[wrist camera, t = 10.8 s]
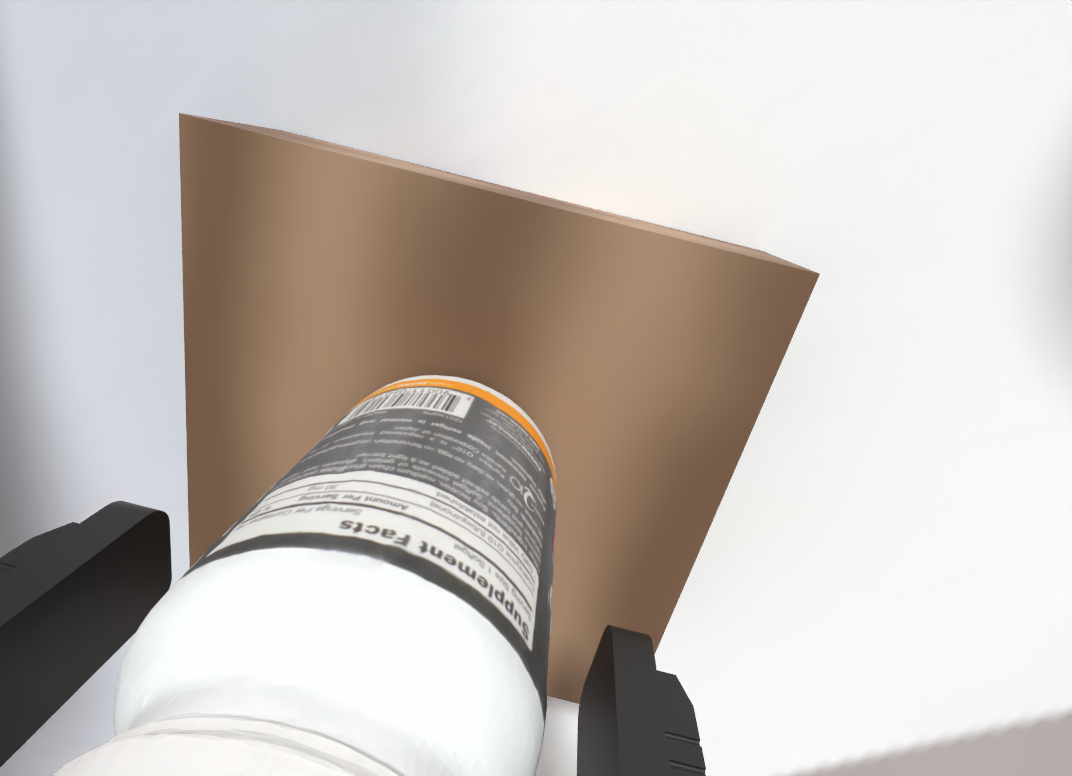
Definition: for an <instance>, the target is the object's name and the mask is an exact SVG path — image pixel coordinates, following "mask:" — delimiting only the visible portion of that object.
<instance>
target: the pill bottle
mask: <svg viewBox="0 0 1072 776" xmlns="http://www.w3.org/2000/svg"><path fill="white" fill-rule="evenodd" d="M556 502H557V488H556V474H555V467H554V463H553V459H552V455H551V452H550V449H549V447H548V445H547V443H546V441H545V439H544V437H543V435H542V433H541V432H540V430H539V429H538V427H537V426H536V425H535V423H534V422H533V421H532V420H531V418H530V417H529V416H528V415H527V414H526V413H525V412H524V411H523V410H522V409H521V408H520V407H519V406H518V405H516V404H515V403H514V402H513V401H511V400H510V399H509V398H507V397H506V396H504V395H502V394H501V393H499V392H497V391H495V390H493V389H491V388H489V387H487V386H485V385H483V384H480V383H478V382H475V381H472V380H468V379H464V378H459V377H452V376H440V375H425V376H417V377H411V378H406V379H402V380H399V381H396V382H393V383H391V384H388V385H386V386H384V387H382V388H380V389H378V390H377V391H375V392H374V393H372V394H370V395H369V396H367V397H366V398H364V399H363V400H362V401H361V402H359V403H358V404H357V405H356V406H354V407H353V408H352V409H351V410H350V411H349V412H348V413H347V414H346V415H344V416H343V417H342V418H341V419H340V420H339V421H338V422H337V423H336V424H335V425H334V426H333V427H332V428H331V429H330V430H329V432H328V433H327V434H326V435H325V436H324V437H323V438H322V439H321V440H320V441H319V442H318V443H317V444H316V445H315V446H314V447H313V448H312V449H311V450H310V451H309V452H308V453H307V454H306V455H305V456H304V457H303V458H302V459H301V460H300V461H299V462H298V463H297V464H296V465H295V466H294V467H293V468H292V469H290V470H289V471H288V472H287V473H286V474H285V475H284V476H283V477H282V478H281V479H279V480H278V481H277V482H276V483H275V484H274V485H273V487H272V488H271V489H270V490H269V491H267V492H266V493H265V494H264V495H263V496H262V497H261V498H260V499H259V500H258V501H257V502H256V503H255V504H254V505H253V506H252V507H251V508H250V509H249V510H248V511H247V512H246V513H245V514H244V515H242V516H241V517H240V518H239V519H238V520H237V522H235V523H234V524H233V525H232V526H231V527H230V529H229V530H228V531H227V532H226V533H225V534H224V535H223V536H222V537H221V538H220V539H218V540H217V541H216V542H215V543H214V544H213V545H212V546H211V547H210V548H209V549H207V551H206V552H205V553H204V554H203V555H202V556H201V558H200V559H199V560H198V561H197V562H196V563H195V564H194V565H193V566H192V567H191V568H190V569H189V570H188V571H187V572H186V573H185V574H184V575H183V576H182V577H181V578H180V579H179V580H178V581H177V582H176V583H175V584H174V585H173V586H172V587H171V588H170V589H169V590H168V592H167V593H166V594H165V595H164V596H163V597H162V598H161V599H160V600H159V602H158V603H157V604H156V605H155V606H154V607H153V608H152V609H151V611H150V612H149V614H148V615H147V616H146V618H145V619H144V620H143V622H142V623H141V625H140V627H139V628H138V630H137V632H136V633H135V635H134V637H133V639H132V641H131V643H130V645H129V647H128V649H127V651H126V654H125V657H124V659H123V662H122V665H121V668H120V671H119V676H118V681H117V685H116V692H115V701H114V723H115V733H116V736H115V737H113V738H112V739H110V740H109V741H107V742H106V743H104V744H102V745H101V746H99V747H96V748H94V749H92V750H90V751H89V752H87V753H85V754H83V755H81V756H78V757H77V758H75V759H73V760H71V761H70V762H68V763H66V764H65V765H64V766H63V767H61V768H60V769H59V770H58V771H57V772H56V773H55V774H53V775H52V776H535V774H536V770H537V766H538V762H539V758H540V754H541V749H542V744H543V736H544V728H545V718H546V708H547V677H548V653H549V640H550V632H551V605H552V588H553V572H554V540H555V522H556Z"/></svg>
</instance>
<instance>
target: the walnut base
mask: <svg viewBox="0 0 1072 776" xmlns="http://www.w3.org/2000/svg"><path fill="white" fill-rule="evenodd" d="M179 133H180V175H181V217H182V259H183V301H184V343H185V385H186V427H187V469H188V512H189V554H190V568H191V567H192V566H193V565H194V564H195V563H196V562H197V561H198V560H199V559H200V558H201V556H202V555H203V554H204V553H205V552H206V551H207V549H209V548H210V547H211V546H212V545H213V544H214V543H215V542H216V541H217V540H218V539H220V538H221V537H222V536H223V535H224V534H225V533H226V532H227V531H228V530H229V529H230V527H231V526H232V525H233V524H234V523H235V522H237V520H238V519H239V518H240V517H241V516H242V515H244V514H245V513H246V512H247V511H248V510H249V509H250V508H251V507H252V506H253V505H254V504H255V503H256V502H257V501H258V500H259V499H260V498H261V497H262V496H263V495H264V494H265V493H266V492H267V491H269V490H270V489H271V488H272V487H273V485H274V484H275V483H276V482H277V481H278V480H279V479H281V478H282V477H283V476H284V475H285V474H286V473H287V472H288V471H289V470H290V469H292V468H293V467H294V466H295V465H296V464H297V463H298V462H299V461H300V460H301V459H302V458H303V457H304V456H305V455H306V454H307V453H308V452H309V451H310V450H311V449H312V448H313V447H314V446H315V445H316V444H317V443H318V442H319V441H320V440H321V439H322V438H323V437H324V436H325V435H326V434H327V433H328V432H329V430H330V429H331V428H332V427H333V426H334V425H335V424H336V423H337V422H338V421H339V420H340V419H341V418H342V417H343V416H344V415H346V414H347V413H348V412H349V411H350V410H351V409H352V408H353V407H354V406H356V405H357V404H358V403H359V402H361V401H362V400H363V399H364V398H366V397H367V396H369V395H370V394H372V393H374V392H375V391H377V390H378V389H380V388H382V387H384V386H386V385H388V384H391V383H393V382H396V381H399V380H402V379H406V378H411V377H417V376H425V375H440V376H452V377H459V378H464V379H468V380H472V381H475V382H478V383H480V384H483V385H485V386H487V387H489V388H491V389H493V390H495V391H497V392H499V393H501V394H502V395H504V396H506V397H507V398H509V399H510V400H511V401H513V402H514V403H515V404H516V405H518V406H519V407H520V408H521V409H522V410H523V411H524V412H525V413H526V414H527V415H528V416H529V417H530V418H531V420H532V421H533V422H534V423H535V425H536V426H537V427H538V429H539V430H540V432H541V433H542V435H543V437H544V439H545V441H546V443H547V445H548V447H549V449H550V452H551V455H552V459H553V463H554V467H555V474H556V488H557V502H556V522H555V540H554V572H553V588H552V605H551V632H550V640H549V653H548V677H547V696H551V697H555V698H559V699H563V700H567V701H571V702H575V703H579V704H580V699H581V694H582V690H583V686H584V683H585V680H586V677H587V675H588V672H589V669H590V667H591V664H592V661H593V659H594V656H595V653H596V651H597V648H598V645H599V643H600V640H601V637H602V635H603V632H604V630H605V628H606V626H607V625H612V626H616V627H620V628H624V629H628V630H632V631H636V632H640V633H644V634H648V635H650V637H651V639H652V643H653V649H654V654H655V652H656V650H657V647H658V645H659V643H660V641H661V638H662V636H663V634H664V631H665V629H666V627H667V624H668V622H669V620H670V618H671V615H672V613H673V611H674V608H675V606H676V604H677V601H678V599H679V597H680V595H681V592H682V590H683V588H684V585H685V583H686V581H687V578H688V576H689V574H690V572H691V569H692V567H693V565H694V562H695V560H696V558H697V555H698V553H699V551H700V548H701V546H702V544H703V542H704V539H705V537H706V535H707V532H708V530H709V528H710V525H711V523H712V521H713V519H714V516H715V514H716V512H717V509H718V507H719V505H720V502H721V500H722V498H723V496H724V493H725V491H726V489H727V486H728V484H729V482H730V479H731V477H732V475H733V473H734V470H735V468H736V466H737V463H738V461H739V459H740V456H741V454H742V452H743V450H744V447H745V445H746V443H747V440H748V438H749V436H750V433H751V431H752V429H753V427H754V424H755V422H756V420H757V417H758V415H759V413H760V410H761V408H762V406H763V403H764V401H765V399H766V397H767V394H768V392H769V390H770V387H771V385H772V383H773V380H774V378H775V376H776V374H777V371H778V369H779V367H780V364H781V362H782V360H783V357H784V355H785V353H786V351H787V348H788V346H789V344H790V341H791V339H792V337H793V334H794V332H795V330H796V328H797V325H798V323H799V321H800V318H801V316H802V314H803V311H804V309H805V307H806V305H807V302H808V300H809V298H810V295H811V293H812V291H813V288H814V286H815V284H816V282H817V279H818V277H819V275H820V274H819V273H816V272H814V271H811V270H809V269H806V268H804V267H801V266H798V265H796V264H793V263H791V262H788V261H786V260H783V259H781V258H778V257H776V256H773V255H771V254H768V253H765V252H763V251H760V250H756V249H752V248H748V247H744V246H740V245H736V244H732V243H728V242H724V241H720V240H716V239H712V238H708V237H704V236H700V235H696V234H692V233H688V232H684V231H680V230H676V229H672V228H668V227H664V226H660V225H656V224H652V223H648V222H644V221H640V220H636V219H632V218H628V217H624V216H620V215H616V214H612V213H608V212H604V211H600V210H596V209H592V208H588V207H584V206H580V205H576V204H572V203H568V202H564V201H560V200H556V199H552V198H548V197H544V196H540V195H536V194H532V193H528V192H524V191H520V190H516V189H512V188H508V187H504V186H500V185H496V184H492V183H489V182H485V181H481V180H477V179H473V178H469V177H465V176H461V175H457V174H453V173H449V172H445V171H441V170H437V169H433V168H429V167H425V166H421V165H417V164H413V163H409V162H405V161H401V160H397V159H393V158H389V157H385V156H381V155H377V154H373V153H369V152H365V151H361V150H357V149H353V148H349V147H345V146H341V145H337V144H333V143H329V142H325V141H321V140H317V139H313V138H309V137H305V136H301V135H297V134H293V133H289V132H285V131H281V130H276V129H270V128H264V127H258V126H252V125H246V124H240V123H234V122H228V121H222V120H217V119H211V118H205V117H199V116H193V115H187V114H181V113H179Z"/></svg>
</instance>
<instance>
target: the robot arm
mask: <svg viewBox="0 0 1072 776" xmlns="http://www.w3.org/2000/svg"><path fill="white" fill-rule="evenodd" d="M171 579H172V571H171V546H170V522H169V517H168V515H167V514H166V513H165V512H163V511H160V510H156V509H152V508H148V507H144V506H140V505H136V504H132V503H128V502H124V501H116V502H113V503H110V504H109V505H107V506H105V507H104V508H102V509H101V510H99V511H98V512H96V513H95V514H93V515H92V516H90V517H89V518H87V519H86V520H84V521H83V522H81V523H80V524H78V523H74V522H72V523H69V524H67V525H64V526H62V527H59V528H56V529H54V530H51V531H49V532H46V533H44V534H41V535H38V536H36V537H33V538H31V539H29V540H28V541H26V542H25V543H23V544H22V545H20V546H18V547H17V548H15V549H14V550H12V551H11V552H9V553H7V554H6V555H4V556H3V557H1V558H0V767H1V766H2V765H3V764H4V763H5V762H6V761H7V760H8V759H9V758H10V757H11V756H12V755H13V754H14V753H15V752H16V751H17V750H18V749H19V748H20V747H21V746H22V745H23V744H24V743H25V742H26V741H27V740H28V739H29V738H30V737H31V736H32V735H33V734H34V733H35V732H36V731H37V730H38V729H39V728H40V727H41V726H42V725H43V724H44V723H45V722H46V721H47V720H48V719H49V718H50V717H51V716H52V715H53V714H54V713H55V712H56V711H57V710H58V709H59V708H60V707H61V706H62V705H63V704H64V703H65V702H66V701H67V700H68V699H69V698H70V697H71V696H72V695H73V694H74V693H75V692H76V691H77V690H78V689H79V688H80V687H81V686H82V685H83V684H84V683H85V682H86V681H87V680H88V679H89V678H90V677H91V676H92V675H93V674H94V673H95V672H96V671H97V670H98V669H99V668H100V667H101V666H102V665H103V664H104V663H105V662H106V661H107V660H108V659H109V658H110V657H111V656H112V655H113V654H114V653H115V652H116V651H117V650H118V649H119V648H120V647H121V646H122V645H123V644H124V643H125V642H126V641H127V640H128V639H129V638H130V637H131V636H132V635H133V634H135V633H136V632H137V630H138V628H139V627H140V625H141V623H142V622H143V620H144V619H145V618H146V616H147V615H148V614H149V612H150V611H151V609H152V608H153V607H154V606H155V605H156V604H157V603H158V602H159V600H160V599H161V598H162V597H163V596H164V595H165V594H166V593H167V592H168V590H169V588H170V584H171ZM699 742H700V737H699V732H698V727H697V722H696V717H695V712H694V708H693V705H692V703H691V701H690V700H689V698H688V696H687V694H686V693H685V691H684V689H683V687H682V685H681V684H680V682H679V680H678V678H677V677H676V675H673V674H669V673H665V672H661V671H657V670H656V663H655V656H654V649H653V643H652V639H651V637H650V635H648V634H644V633H640V632H636V631H632V630H628V629H624V628H620V627H616V626H612V625H607V626H606V628H605V630H604V632H603V635H602V637H601V640H600V643H599V645H598V648H597V651H596V653H595V656H594V659H593V661H592V664H591V667H590V669H589V672H588V675H587V677H586V680H585V683H584V686H583V690H582V694H581V699H580V706H579V714H578V744H577V776H706V775H705V769H706V767H705V762H704V757H703V752H702V747H701V746H700V745H699Z"/></svg>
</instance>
